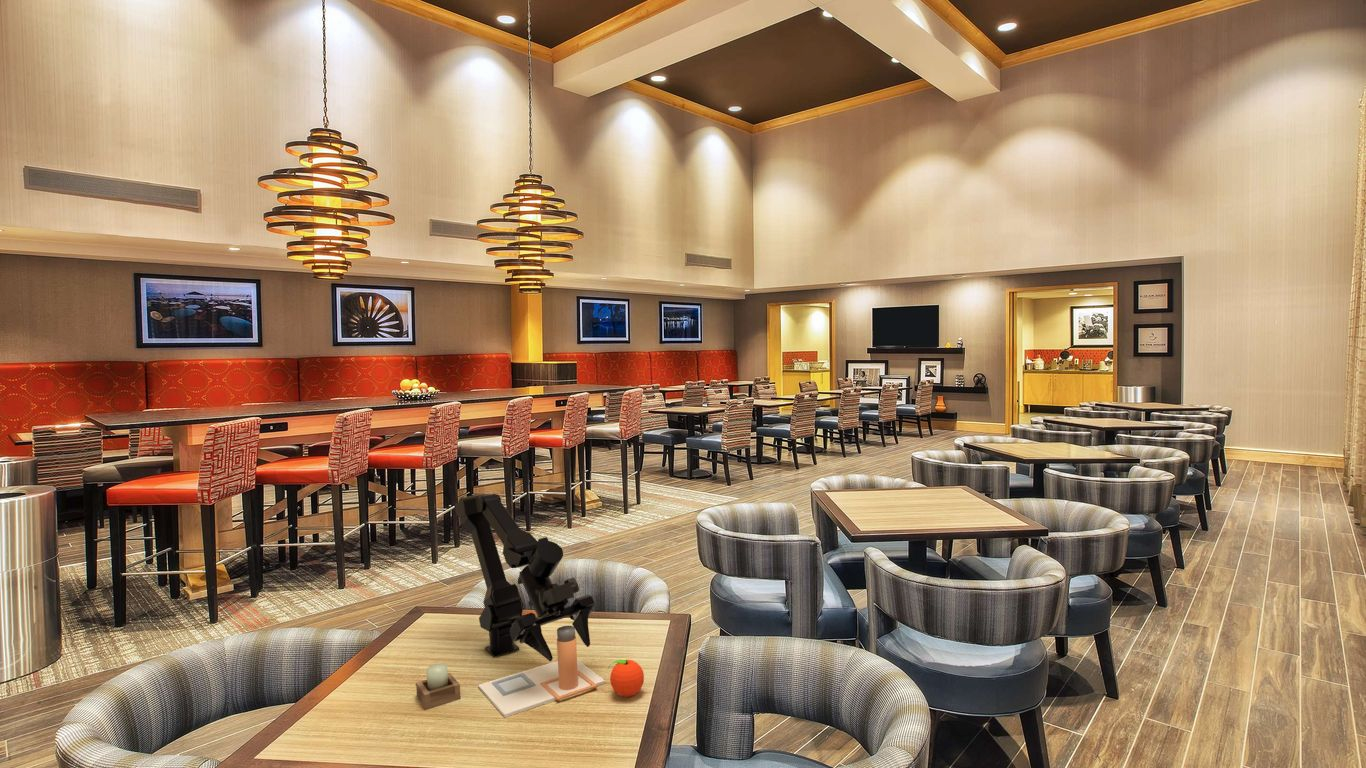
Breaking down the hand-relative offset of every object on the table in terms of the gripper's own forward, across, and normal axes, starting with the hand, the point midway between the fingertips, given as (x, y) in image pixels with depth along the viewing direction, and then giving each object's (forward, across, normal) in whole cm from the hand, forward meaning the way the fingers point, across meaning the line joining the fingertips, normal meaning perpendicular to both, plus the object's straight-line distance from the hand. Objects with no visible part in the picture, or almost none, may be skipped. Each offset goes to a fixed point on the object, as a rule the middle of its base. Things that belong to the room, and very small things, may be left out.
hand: (570, 652), depth 142 cm
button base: (-7, -21, +19) cm, 29 cm away
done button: (-9, -21, +17) cm, 28 cm away
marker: (+4, 0, +6) cm, 7 cm away
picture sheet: (+1, -3, +10) cm, 11 cm away
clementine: (+13, +6, -1) cm, 14 cm away
